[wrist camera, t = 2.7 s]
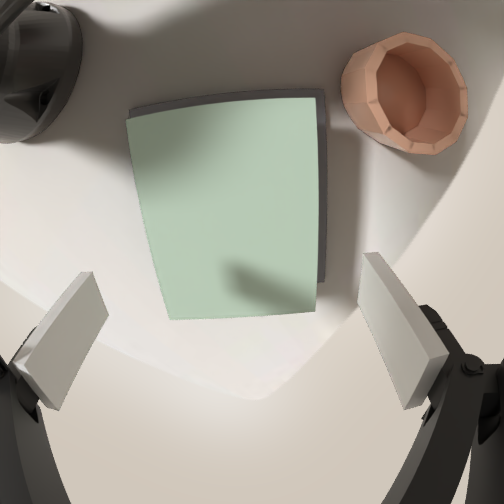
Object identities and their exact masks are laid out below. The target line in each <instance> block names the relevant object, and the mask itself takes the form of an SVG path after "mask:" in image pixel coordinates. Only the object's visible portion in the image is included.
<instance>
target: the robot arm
mask: <svg viewBox="0 0 504 504" xmlns="http://www.w3.org/2000/svg"><path fill="white" fill-rule="evenodd" d="M33 1H34V0H0V143H3V144H9V143H15V142H19V141H22V140H26V139H29V138H32V137H34V136H36V135H37V134H39V133H40V132H42V131H43V130H44V129H46V128H47V127H48V126H49V125H50V124H51V123H52V122H53V120H54V119H55V118H56V117H57V115H58V114H59V113H60V111H61V110H62V108H63V107H64V105H65V103H66V102H67V100H68V98H69V96H70V94H71V91H72V89H73V87H74V84H75V81H76V78H77V75H78V72H79V67H80V63H81V56H82V35H81V30H80V27H79V24H78V22H77V20H76V18H75V17H74V15H73V14H72V13H71V12H70V11H69V10H67V9H66V8H63V7H61V6H58V5H56V4H53V3H49V2H34V3H32V2H33ZM357 303H358V305H359V307H360V309H361V311H362V313H363V315H364V317H365V320H366V322H367V324H368V326H369V328H370V331H371V333H372V335H373V337H374V339H375V342H376V344H377V346H378V349H379V351H380V353H381V355H382V358H383V360H384V362H385V365H386V367H387V370H388V372H389V374H390V377H391V379H392V382H393V384H394V386H395V389H396V392H397V394H398V396H399V399H400V401H401V404H402V407H403V409H404V410H406V409H410V408H414V407H417V406H420V405H422V404H423V402H424V400H425V399H426V397H427V396H428V398H429V400H430V402H431V404H430V406H429V408H428V409H427V411H426V412H425V414H424V415H423V417H422V419H423V423H422V425H421V428H420V430H419V432H418V435H417V437H416V439H415V441H414V444H413V446H412V448H411V450H410V452H409V454H408V456H407V458H406V460H405V462H404V464H403V466H402V468H401V470H400V472H399V474H398V476H397V478H396V479H395V481H394V483H393V485H392V487H391V488H390V490H389V492H388V494H387V495H386V497H385V499H384V500H383V502H382V503H381V504H451V502H452V499H453V497H454V495H455V492H456V489H457V487H458V485H459V482H460V479H461V477H462V474H463V471H464V468H465V465H466V462H467V459H468V456H469V453H470V449H471V461H470V473H469V480H468V488H467V494H466V500H465V504H504V359H503V360H502V362H501V364H484V362H483V361H482V360H481V359H480V358H479V357H477V356H475V355H472V354H465V352H464V351H463V349H462V348H461V346H460V345H459V343H458V342H457V340H456V339H455V337H454V336H453V334H452V333H451V332H450V330H449V329H447V326H446V324H445V323H444V322H443V321H442V319H441V317H440V316H439V315H438V313H437V312H436V311H435V310H434V309H432V308H431V307H429V306H428V305H421V306H418V305H417V304H416V302H415V301H414V299H413V298H412V296H411V295H410V294H409V292H408V291H407V289H406V288H405V287H404V285H403V284H402V283H401V281H400V280H399V279H398V277H397V276H396V275H395V273H394V272H393V271H392V269H391V268H390V267H389V265H388V264H387V263H386V261H385V260H384V259H383V258H382V256H381V255H380V254H379V253H378V252H372V253H363V260H362V269H361V277H360V285H359V292H358V299H357ZM108 316H109V314H108V311H107V309H106V307H105V304H104V302H103V299H102V296H101V294H100V291H99V289H98V286H97V283H96V281H95V278H94V275H93V272H81V273H80V274H79V275H78V276H77V277H76V279H75V280H74V281H73V282H72V283H71V284H70V286H69V287H68V288H67V289H66V290H65V292H64V293H63V294H62V295H61V296H60V298H59V299H58V300H57V301H56V303H55V304H54V305H53V306H52V308H51V309H50V310H49V311H48V313H47V314H46V315H45V317H44V318H43V319H42V321H41V322H40V323H39V325H38V326H36V327H35V328H34V329H33V330H32V331H31V333H30V334H29V335H28V337H27V339H25V341H24V342H23V345H21V347H20V348H19V349H18V351H17V352H16V353H15V355H14V357H13V358H12V359H11V361H10V362H9V364H8V365H7V364H6V363H5V361H4V360H3V358H2V357H1V355H0V504H71V503H70V500H69V498H68V496H67V493H66V491H65V488H64V486H63V483H62V481H61V478H60V475H59V472H58V469H57V467H56V464H55V460H54V457H53V454H52V451H51V448H50V444H49V441H48V437H47V434H46V430H45V426H44V422H43V417H42V413H41V409H40V407H39V406H38V405H37V402H38V400H39V399H40V400H41V401H42V402H43V404H44V405H45V406H46V407H47V408H51V409H54V410H57V411H59V410H60V408H61V406H62V403H63V401H64V399H65V397H66V395H67V393H68V391H69V388H70V387H71V385H72V382H73V381H74V379H75V377H76V375H77V373H78V371H79V369H80V366H81V365H82V363H83V361H84V359H85V357H86V355H87V353H88V351H89V350H90V348H91V346H92V344H93V342H94V340H95V339H96V337H97V335H98V333H99V332H100V330H101V328H102V326H103V324H104V323H105V321H106V319H107V317H108ZM471 446H472V447H471Z"/></svg>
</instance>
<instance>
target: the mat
mask: <svg viewBox="0 0 504 504" xmlns="http://www.w3.org/2000/svg"><path fill="white" fill-rule="evenodd" d="M276 98H315V101H316V119H317V143H318V189H319V217H318V264H317V283H319V282H324V279H325V259H326V233H327V141H326V115H325V97H324V89H275V90H257V91H243V92H232V93H223V94H214V95H207V96H199V97H193V98H186V99H180V100H174V101H169V102H164V103H158V104H154V105H149V106H144V107H140V108H135V109H131V110H129V113H130V118H134V117H139V116H143V115H148V114H153V113H158V112H163V111H168V110H174V109H180V108H186V107H193V106H200V105H207V104H215V103H224V102H233V101H245V100H258V99H276Z"/></svg>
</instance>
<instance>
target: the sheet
mask: <svg viewBox="0 0 504 504" xmlns="http://www.w3.org/2000/svg"><path fill="white" fill-rule="evenodd" d="M126 127H127V135H128V142H129V148H130V154H131V161H132V166H133V172H134V178H135V183H136V188H137V193H138V198H139V203H140V208H141V213H142V217H143V222H144V226H145V231H146V235H147V239H148V243H149V247H150V251H151V255H152V259H153V263H154V267H155V271H156V274H157V278H158V282H159V285H160V289H161V292H162V296H163V299H164V302H165V306H166V309H167V312H168V316H169V319H170V320H187V319H216V318H236V317H253V316H268V315H281V314H293V313H304V312H315V307H316V288H317V264H318V217H319V189H318V143H317V119H316V101H315V98H276V99H258V100H245V101H233V102H224V103H215V104H207V105H200V106H193V107H186V108H180V109H174V110H168V111H163V112H158V113H153V114H148V115H143V116H139V117H134V118H130V119H126Z"/></svg>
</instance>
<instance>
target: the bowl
mask: <svg viewBox="0 0 504 504" xmlns="http://www.w3.org/2000/svg"><path fill="white" fill-rule="evenodd" d="M341 77H342V78H341V97H342V101H343V104H344V107H345V109H346V111H347V113H348V115H349V117H350V118H351V120H352V121H353V122H354V123H355V125H356V126H357V128H358V129H359V130H361V131H363V132H364V133H366V134H367V135H369V136H370V137H372V138H373V139H375V140H376V141H378V142H379V143H381V144H384V145H388V146H391V147H393V148H396V149H399V150H402V151H405V152H408V153H416V154H429V155H436V154H438V153H439V152H441V151H443V150H444V149H446V148H447V147H449V146H450V145H452V144H454V143H455V142H457V139H458V137H459V135H460V133H461V131H462V129H463V127H464V124H465V122H466V120H467V118H468V105H467V87H466V85H465V82H464V80H463V78H462V76H461V73H460V71H459V69H458V67H457V65H456V63H455V61H454V59H453V58H452V57H451V56H450V55H449V54H448V53H447V52H445V51H444V50H443V49H442V48H441V47H440V46H439V45H438V44H437V43H435V42H434V41H433V40H432V39H430V38H427V37H423V36H419V35H415V34H411V33H407V32H401V33H399V34H396V35H394V36H391V37H389V38H387V39H384V40H382V41H380V42H377V43H375V44H373V45H371V46H368V47H366V48H364V49H362V50H360V51H358V52H356V53H354V54H353V55H352V57H351V59H350V61H349V62H348V63H347V65H346V66H345V69H344V71H343V74H342V76H341Z"/></svg>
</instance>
